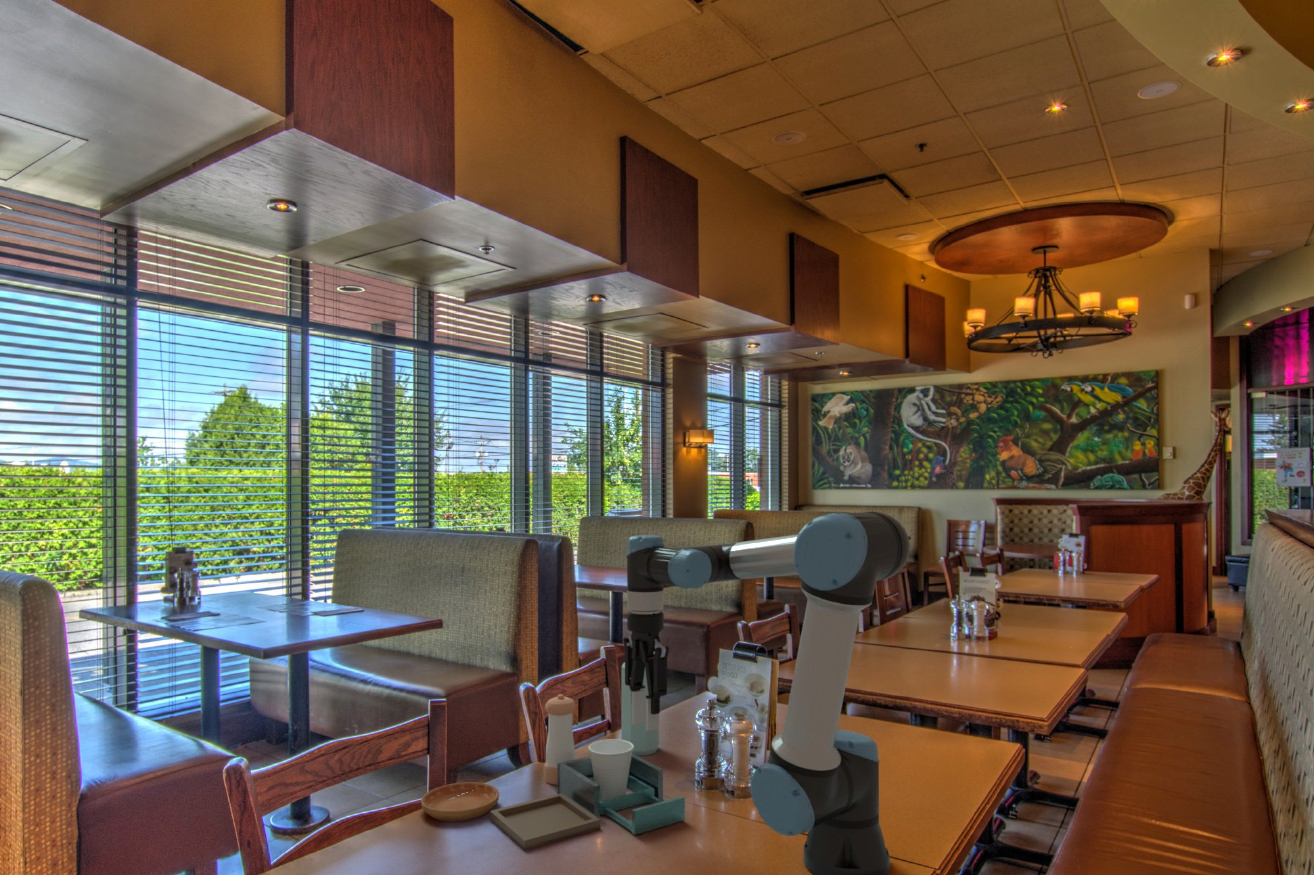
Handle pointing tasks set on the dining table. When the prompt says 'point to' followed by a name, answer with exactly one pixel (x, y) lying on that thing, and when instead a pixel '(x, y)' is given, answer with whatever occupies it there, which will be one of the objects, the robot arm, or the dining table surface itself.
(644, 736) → the water bottle
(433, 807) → the saucer
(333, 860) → the dining table surface
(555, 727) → the pepper shaker
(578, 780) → the cubby
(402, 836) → the dining table surface
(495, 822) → the tray
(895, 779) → the dining table surface
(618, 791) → the cup
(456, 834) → the dining table surface
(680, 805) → the caddy
